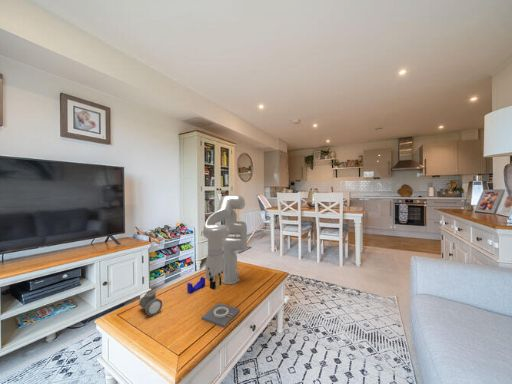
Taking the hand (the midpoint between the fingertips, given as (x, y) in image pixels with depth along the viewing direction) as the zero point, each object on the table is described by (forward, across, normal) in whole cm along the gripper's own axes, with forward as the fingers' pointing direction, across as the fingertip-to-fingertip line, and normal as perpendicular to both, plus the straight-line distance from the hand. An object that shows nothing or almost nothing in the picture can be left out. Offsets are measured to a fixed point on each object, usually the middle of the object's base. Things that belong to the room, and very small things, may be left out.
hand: (215, 286), depth 104 cm
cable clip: (+16, -16, -29) cm, 37 cm away
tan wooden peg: (+1, 0, 0) cm, 1 cm away
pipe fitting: (+15, +14, -34) cm, 40 cm away
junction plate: (+15, -1, +2) cm, 15 cm away
